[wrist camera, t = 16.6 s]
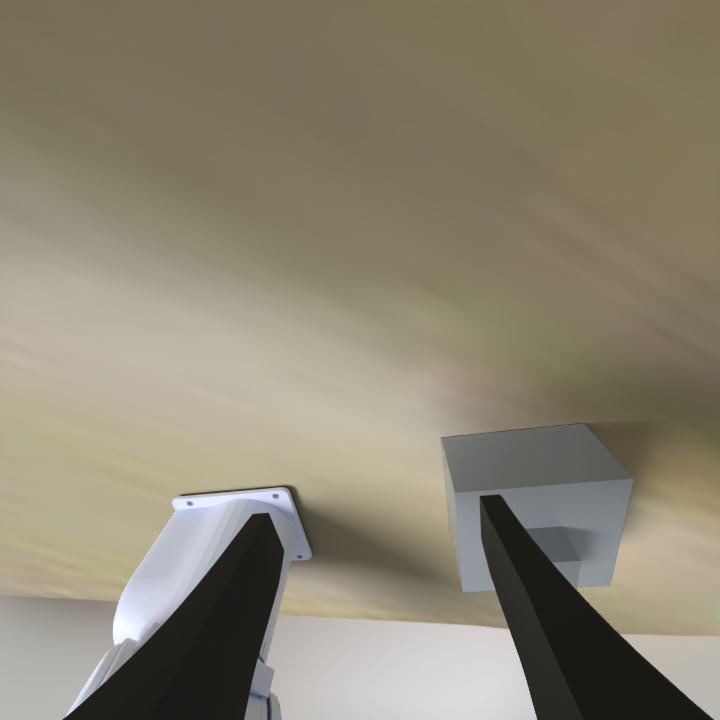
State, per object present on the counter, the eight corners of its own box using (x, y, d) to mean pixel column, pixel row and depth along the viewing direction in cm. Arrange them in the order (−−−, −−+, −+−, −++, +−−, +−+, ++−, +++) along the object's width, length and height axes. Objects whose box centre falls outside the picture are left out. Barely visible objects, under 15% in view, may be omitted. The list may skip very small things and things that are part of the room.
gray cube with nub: (449, 528, 26) (469, 627, 20) (441, 437, 22) (463, 525, 16) (571, 520, 25) (632, 622, 19) (584, 423, 21) (664, 511, 15)
